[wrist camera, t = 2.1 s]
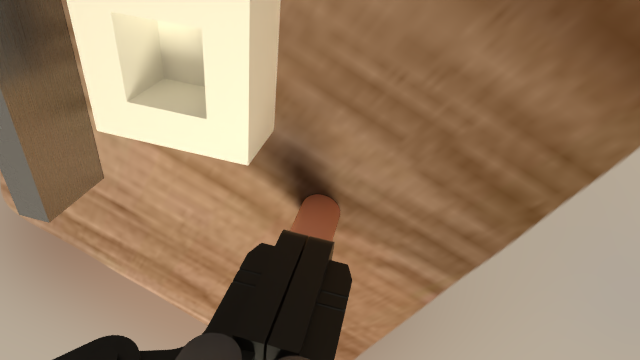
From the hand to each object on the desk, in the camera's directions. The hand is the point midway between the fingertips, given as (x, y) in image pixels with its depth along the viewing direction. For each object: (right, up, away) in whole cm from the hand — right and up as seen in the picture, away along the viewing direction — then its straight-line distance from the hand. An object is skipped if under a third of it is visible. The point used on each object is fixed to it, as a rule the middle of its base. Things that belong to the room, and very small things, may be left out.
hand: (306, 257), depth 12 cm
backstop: (-18, +12, +16) cm, 27 cm away
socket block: (-7, +11, +14) cm, 19 cm away
